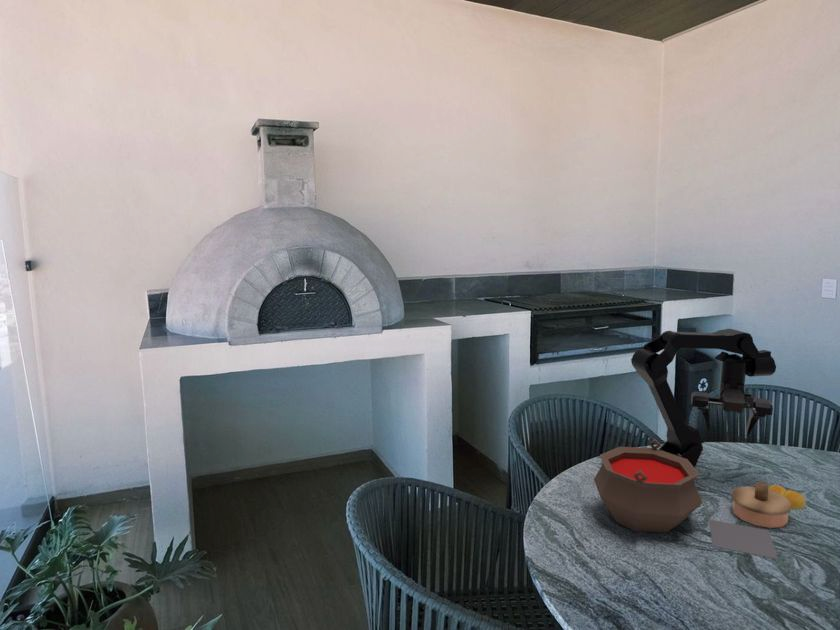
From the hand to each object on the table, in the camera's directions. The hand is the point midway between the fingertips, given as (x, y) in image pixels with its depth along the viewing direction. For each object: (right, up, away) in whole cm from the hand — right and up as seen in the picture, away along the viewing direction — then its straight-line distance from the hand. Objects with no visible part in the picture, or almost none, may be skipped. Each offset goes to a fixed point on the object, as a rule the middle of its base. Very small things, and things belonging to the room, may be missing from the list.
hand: (727, 433), depth 155 cm
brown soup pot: (-30, -17, -18) cm, 39 cm away
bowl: (-2, -16, -18) cm, 25 cm away
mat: (-12, -18, -28) cm, 35 cm away
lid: (-2, -12, -19) cm, 23 cm away
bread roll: (+8, -15, -11) cm, 21 cm away
